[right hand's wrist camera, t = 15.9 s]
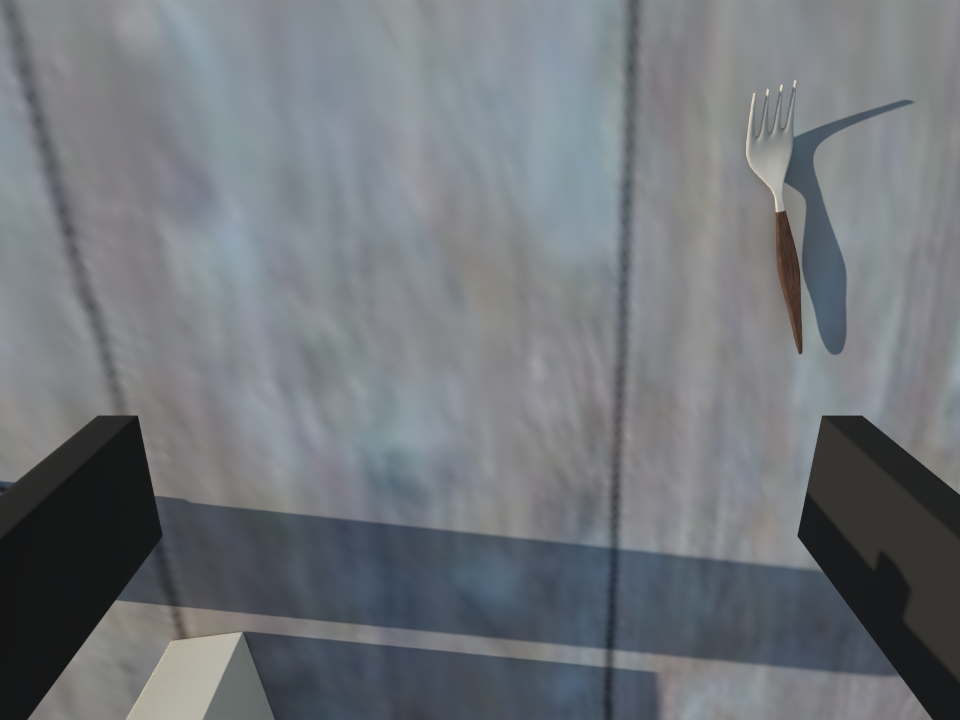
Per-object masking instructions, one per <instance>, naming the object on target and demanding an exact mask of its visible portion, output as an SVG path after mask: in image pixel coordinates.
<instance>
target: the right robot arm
mask: <svg viewBox="0 0 960 720" xmlns="http://www.w3.org/2000/svg"><path fill="white" fill-rule="evenodd" d="M161 538H162V531H161V526H160V521H159V516H158V512H157V507H156V502H155V497H154V492H153V487H152V482H151V477H150V473H149V468H148V463H147V458H146V453H145V448H144V443H143V438H142V434H141V429H140V424H139V419H138V416H97V417H96V418H94V419H93V420H92V421H91V422H89V423H88V424H87V425H86V426H85V427H83V428H82V429H81V430H80V431H78V432H77V433H76V434H75V435H73V436H72V437H71V438H70V439H69V440H67V441H66V442H65V443H64V444H62V445H61V446H60V447H59V448H57V449H56V450H55V451H54V452H53V453H51V454H50V455H49V456H48V457H46V458H45V459H44V460H43V461H41V462H40V463H39V464H38V465H36V466H35V467H34V468H33V469H32V470H30V471H29V472H28V473H27V474H25V475H24V476H23V477H22V478H20V479H19V480H18V481H17V482H16V483H14V484H13V485H12V486H11V487H9V488H8V489H7V490H6V491H4V492H3V493H2V494H1V495H0V720H27V719H28V718H29V717H30V715H31V714H32V713H33V711H34V710H35V709H36V707H37V706H38V704H39V703H40V702H41V700H42V699H43V698H44V696H45V695H46V694H47V692H48V691H49V690H50V688H51V687H52V685H53V684H54V683H55V681H56V680H57V679H58V677H59V676H60V675H61V673H62V672H63V671H64V669H65V668H66V666H67V665H68V664H69V662H70V661H71V660H72V658H73V657H74V656H75V654H76V653H77V652H78V650H79V649H80V647H81V646H82V645H83V643H84V642H85V641H86V639H87V638H88V637H89V635H90V634H91V633H92V631H93V630H94V628H95V627H96V626H97V624H98V623H99V622H100V620H101V619H102V618H103V616H104V615H105V614H106V612H107V611H108V609H109V608H110V607H111V605H112V604H113V603H114V601H115V600H116V599H117V597H118V596H119V595H120V593H121V592H122V590H123V589H124V588H125V586H126V585H127V584H128V582H129V581H130V580H131V578H132V577H133V576H134V574H135V573H136V571H137V570H138V569H139V567H140V566H141V565H142V563H143V562H144V561H145V559H146V558H147V557H148V555H149V554H150V552H151V551H152V550H153V548H154V547H155V546H156V544H157V543H158V542H159V540H160V539H161ZM798 538H799V539H800V540H801V542H802V543H803V544H804V546H805V547H806V548H807V550H808V551H809V552H810V554H811V555H812V557H813V558H814V559H815V561H816V562H817V563H818V565H819V566H820V567H821V569H822V570H823V571H824V573H825V574H826V576H827V577H828V578H829V580H830V581H831V582H832V584H833V585H834V586H835V588H836V589H837V590H838V592H839V593H840V595H841V596H842V597H843V599H844V600H845V601H846V603H847V604H848V605H849V607H850V608H851V609H852V611H853V612H854V614H855V615H856V616H857V618H858V619H859V620H860V622H861V623H862V624H863V626H864V627H865V628H866V630H867V631H868V633H869V634H870V635H871V637H872V638H873V639H874V641H875V642H876V643H877V645H878V646H879V647H880V649H881V650H882V652H883V653H884V654H885V656H886V657H887V658H888V660H889V661H890V662H891V664H892V665H893V666H894V668H895V669H896V671H897V672H898V673H899V675H900V676H901V677H902V679H903V680H904V681H905V683H906V684H907V685H908V687H909V688H910V690H911V691H912V692H913V694H914V695H915V696H916V698H917V699H918V700H919V702H920V703H921V704H922V706H923V707H924V709H925V710H926V711H927V713H928V714H929V715H930V717H931V718H932V719H933V720H960V495H959V494H958V493H957V492H956V491H954V490H953V489H952V488H951V487H949V486H948V485H947V484H946V483H944V482H943V481H942V480H941V479H940V478H938V477H937V476H936V475H935V474H933V473H932V472H931V471H930V470H928V469H927V468H926V467H925V466H924V465H922V464H921V463H920V462H919V461H917V460H916V459H915V458H914V457H912V456H911V455H910V454H909V453H907V452H906V451H905V450H904V449H903V448H901V447H900V446H899V445H898V444H896V443H895V442H894V441H893V440H891V439H890V438H889V437H888V436H887V435H885V434H884V433H883V432H882V431H880V430H879V429H878V428H877V427H875V426H874V425H873V424H872V423H871V422H869V421H868V420H867V419H866V418H864V417H863V416H822V419H821V424H820V429H819V434H818V438H817V443H816V448H815V453H814V458H813V463H812V468H811V473H810V477H809V482H808V487H807V492H806V497H805V502H804V507H803V512H802V516H801V521H800V526H799V531H798Z"/></svg>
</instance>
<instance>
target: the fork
mask: <svg viewBox="0 0 960 720" xmlns="http://www.w3.org/2000/svg"><path fill="white" fill-rule="evenodd" d="M796 85H797V80H795V81H794V85H793V90H792V95H791V99H790V104H789V110H788V115H787V121H786V125H785V127H784V129H781V126H780V119H781V103H782V91H783V85H782V84H781V87H780V91H779V96H778V102H777V107H776V112H775V119H774V125H773V129H772V131H771V132H770V133H768V130H767V120H768V100H769V89H767V93H766V98H765V103H764V109H763V115H762V122H761V129H760V133H759V135H758V136H757V137H756V136H755V133H754V120H755V97H756V93H753V99H752V105H751V112H750V118H749V126H748V135H747V145H746V156H747V160H748V163H749V165H750V166H751V168H752V169H753V171H754V172H755V173H756V174H757V175H758V176H759V177H760V178H761V179H762V180H763V181H764V182H765V183H766V184H767V185H768V186H769V187H770V189H771V190H772V192H773V194H774V197H775V204H776V251H777V266H778V273H779V278H780V282H781V286H782V290H783V293H784V297H785V300H786V304H787V308H788V312H789V316H790V320H791V325H792V329H793V334H794V338H795V342H796V346H797V350H798V353H799V354H802V323H801V288H800V269H799V263H798V258H797V253H796V249H795V245H794V241H793V237H792V234H791V230H790V226H789V222H788V219H787V215H786V211H785V207H784V202H783V195H782V189H783V183H784V179H785V176H786V173H787V169H788V166H789V163H790V159H791V155H792V150H793V117H794V104H795V93H796Z"/></svg>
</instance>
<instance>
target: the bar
mask: <svg viewBox="0 0 960 720" xmlns="http://www.w3.org/2000/svg"><path fill="white" fill-rule="evenodd" d="M126 720H275V719H274V716H273V713H272V711H271V708H270V705H269V702H268V700H267V697H266V694H265V691H264V689H263V686H262V683H261V681H260V678H259V675H258V672H257V670H256V667H255V664H254V661H253V659H252V656H251V653H250V650H249V648H248V645H247V642H246V639H245V637H244V634H243V632H237V633H230V634H222V635H214V636H206V637H198V638H190V639H182V640H174V641H171V643H170V644H169V646H168V648H167V649H166V651H165V653H164V655H163V656H162V658H161V660H160V662H159V663H158V665H157V667H156V669H155V670H154V672H153V674H152V676H151V677H150V679H149V681H148V682H147V684H146V686H145V688H144V689H143V691H142V693H141V695H140V696H139V698H138V700H137V702H136V703H135V705H134V707H133V709H132V710H131V712H130V714H129V715H128V717H127V719H126Z"/></svg>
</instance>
